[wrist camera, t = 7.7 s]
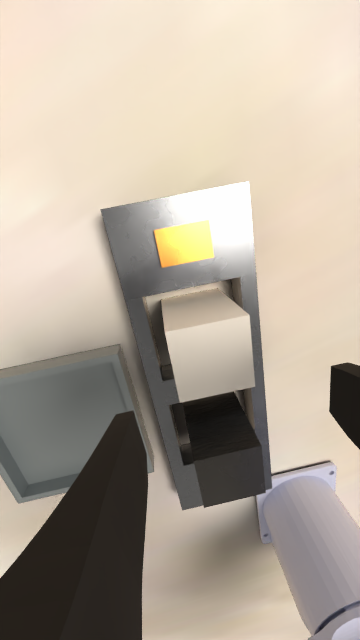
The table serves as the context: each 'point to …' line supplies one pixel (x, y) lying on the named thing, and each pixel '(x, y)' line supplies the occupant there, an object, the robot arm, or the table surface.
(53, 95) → the table surface
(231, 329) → the plug
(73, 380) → the tray
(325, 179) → the table surface
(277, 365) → the table surface
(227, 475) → the power strip
